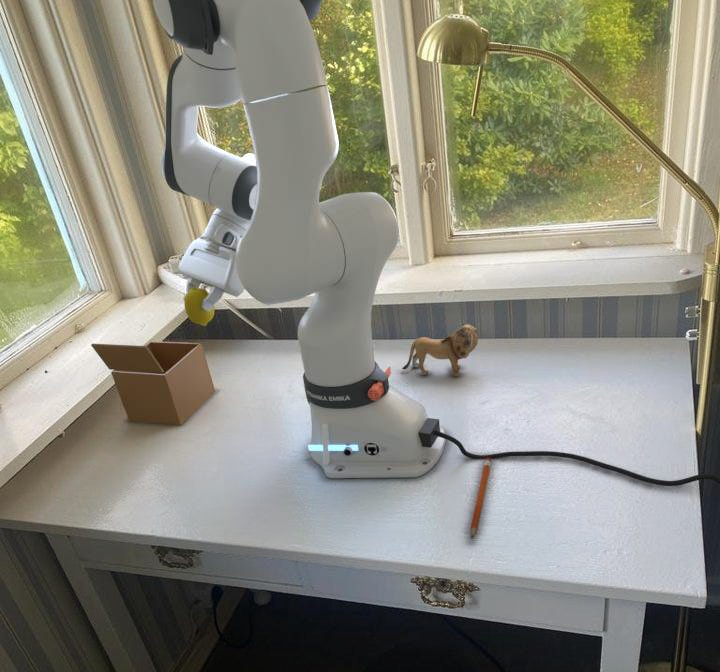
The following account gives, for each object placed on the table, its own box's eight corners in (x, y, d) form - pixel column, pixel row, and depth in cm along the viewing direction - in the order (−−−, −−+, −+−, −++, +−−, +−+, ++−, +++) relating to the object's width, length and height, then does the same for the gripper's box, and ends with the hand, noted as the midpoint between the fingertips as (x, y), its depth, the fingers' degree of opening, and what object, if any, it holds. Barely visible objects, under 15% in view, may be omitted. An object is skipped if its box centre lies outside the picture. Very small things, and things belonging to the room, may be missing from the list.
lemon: (204, 318, 147) (194, 280, 142) (224, 322, 144) (214, 283, 139) (185, 329, 143) (173, 291, 139) (204, 333, 140) (193, 294, 136)
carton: (215, 391, 144) (201, 343, 138) (180, 425, 135) (164, 375, 129) (165, 387, 148) (150, 341, 142) (128, 420, 139) (110, 371, 133)
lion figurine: (479, 363, 139) (478, 319, 134) (478, 376, 135) (476, 331, 130) (404, 365, 142) (399, 322, 137) (400, 378, 138) (395, 335, 133)
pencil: (491, 462, 112) (491, 457, 112) (474, 541, 98) (474, 536, 97) (485, 462, 113) (485, 457, 112) (468, 541, 98) (468, 536, 98)
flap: (147, 345, 123) (146, 347, 123) (163, 371, 128) (163, 372, 128) (91, 343, 127) (90, 345, 127) (110, 367, 132) (109, 369, 132)
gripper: (188, 225, 144) (159, 288, 145) (241, 240, 130) (208, 310, 131) (213, 240, 149) (184, 302, 150) (267, 256, 135) (235, 324, 136)
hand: (196, 306), depth 141 cm, fingers closed on lemon, 5 cm apart
